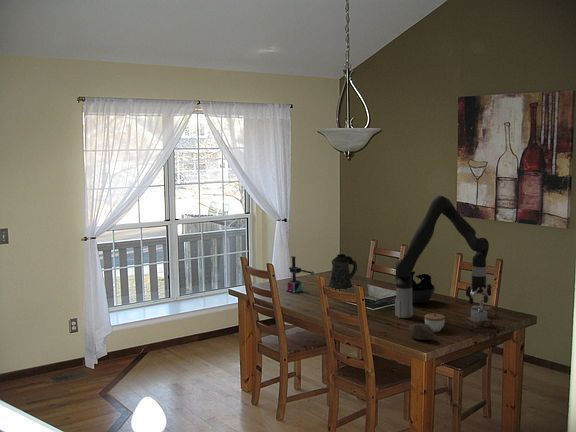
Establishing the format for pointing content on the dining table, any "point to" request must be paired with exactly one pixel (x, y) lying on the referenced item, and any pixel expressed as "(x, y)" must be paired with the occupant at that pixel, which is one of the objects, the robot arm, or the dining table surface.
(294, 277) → the magnetic base gauge holder
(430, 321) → the lidded jar
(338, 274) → the beer stein
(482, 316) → the housing
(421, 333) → the stone
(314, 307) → the dining table surface
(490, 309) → the pipe connector
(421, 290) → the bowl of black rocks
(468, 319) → the stand
